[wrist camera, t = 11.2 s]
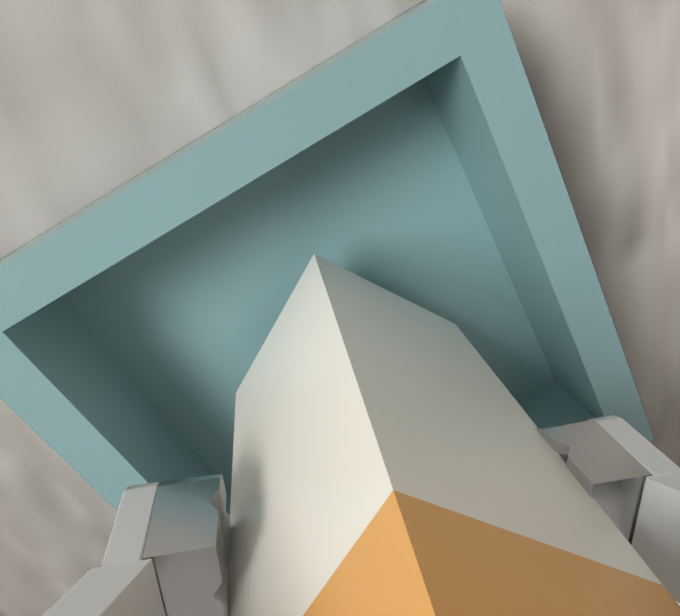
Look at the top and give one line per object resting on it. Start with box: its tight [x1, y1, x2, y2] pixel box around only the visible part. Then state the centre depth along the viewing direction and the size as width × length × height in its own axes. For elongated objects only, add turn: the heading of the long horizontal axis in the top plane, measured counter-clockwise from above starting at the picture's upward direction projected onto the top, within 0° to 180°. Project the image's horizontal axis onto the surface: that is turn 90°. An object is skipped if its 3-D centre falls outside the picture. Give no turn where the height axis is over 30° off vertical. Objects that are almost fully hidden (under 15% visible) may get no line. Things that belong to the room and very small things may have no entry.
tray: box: [0, 0, 654, 514], centre depth 14 cm, size 12×12×4 cm
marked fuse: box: [228, 254, 680, 616], centre depth 9 cm, size 4×4×9 cm
